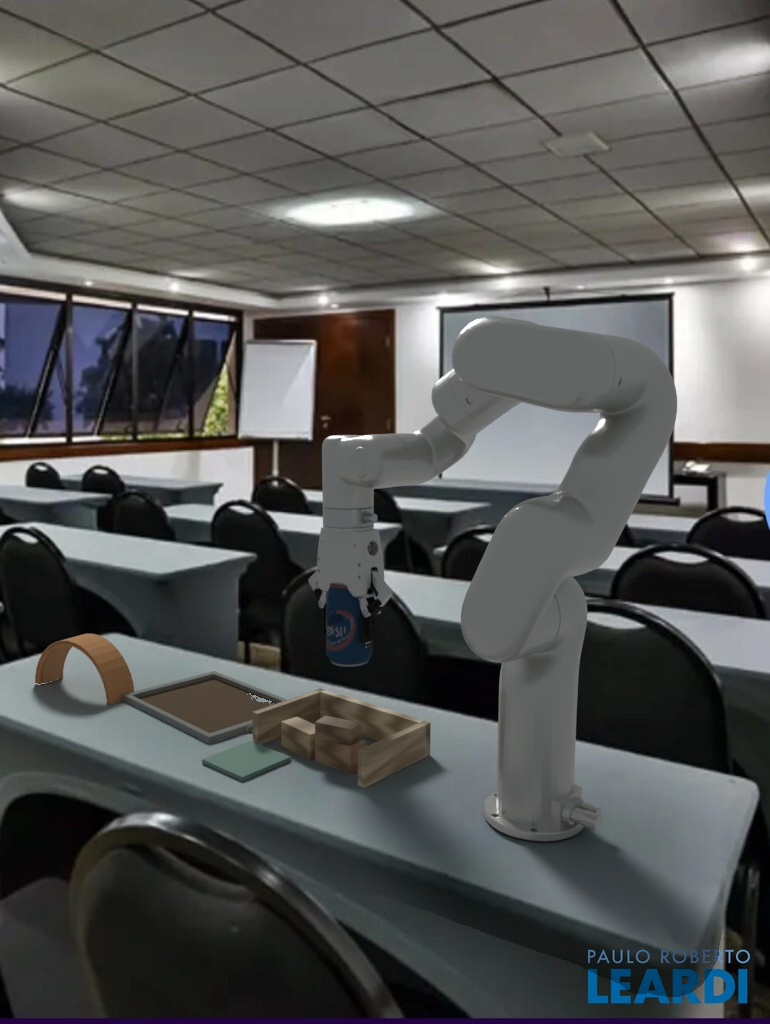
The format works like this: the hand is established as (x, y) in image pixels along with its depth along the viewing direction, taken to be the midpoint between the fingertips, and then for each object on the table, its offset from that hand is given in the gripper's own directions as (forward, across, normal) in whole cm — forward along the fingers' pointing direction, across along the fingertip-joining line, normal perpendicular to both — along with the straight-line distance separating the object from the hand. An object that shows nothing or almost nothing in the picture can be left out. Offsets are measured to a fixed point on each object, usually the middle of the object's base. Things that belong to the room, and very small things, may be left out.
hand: (349, 636), depth 123 cm
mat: (+17, +8, +14) cm, 23 cm away
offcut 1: (+17, +4, +6) cm, 19 cm away
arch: (+17, +54, +13) cm, 58 cm away
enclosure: (+17, 0, +1) cm, 17 cm away
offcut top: (+13, -3, +6) cm, 15 cm away
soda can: (+4, 0, 0) cm, 4 cm away
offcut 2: (+17, -3, +6) cm, 19 cm away
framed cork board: (+18, +29, +3) cm, 34 cm away
